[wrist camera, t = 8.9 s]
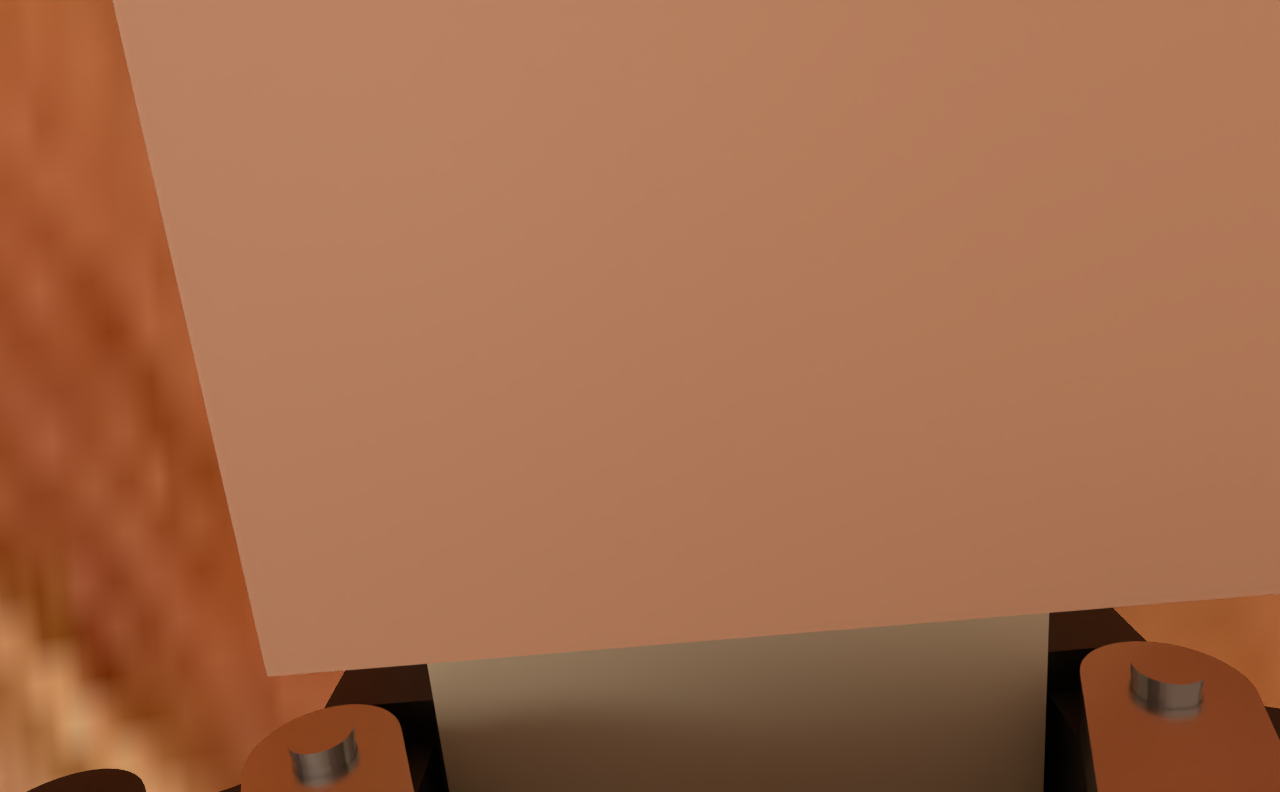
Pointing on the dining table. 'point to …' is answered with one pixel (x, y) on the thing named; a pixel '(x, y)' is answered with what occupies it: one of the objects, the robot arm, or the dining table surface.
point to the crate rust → (721, 311)
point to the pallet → (758, 713)
